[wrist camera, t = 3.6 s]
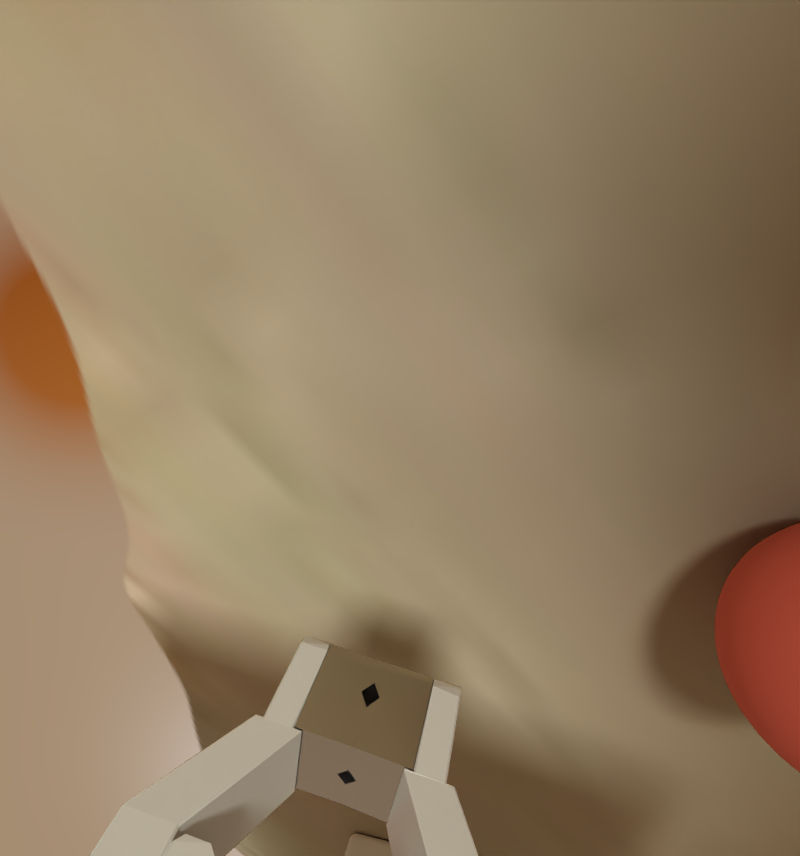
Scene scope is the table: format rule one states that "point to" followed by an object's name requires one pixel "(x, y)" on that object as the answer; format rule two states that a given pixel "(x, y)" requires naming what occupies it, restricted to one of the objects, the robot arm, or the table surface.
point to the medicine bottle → (367, 846)
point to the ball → (765, 639)
